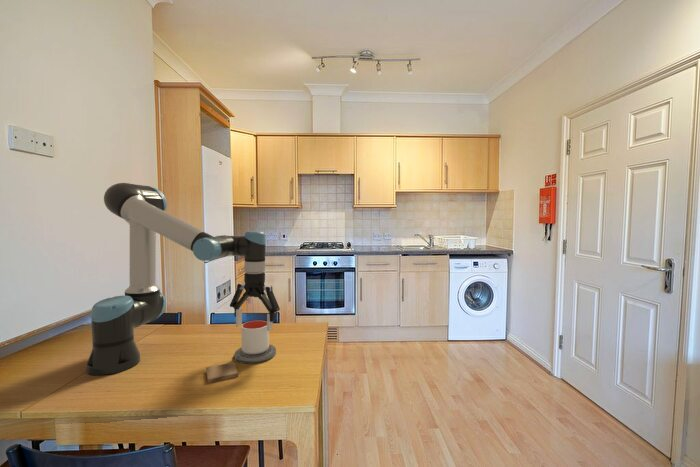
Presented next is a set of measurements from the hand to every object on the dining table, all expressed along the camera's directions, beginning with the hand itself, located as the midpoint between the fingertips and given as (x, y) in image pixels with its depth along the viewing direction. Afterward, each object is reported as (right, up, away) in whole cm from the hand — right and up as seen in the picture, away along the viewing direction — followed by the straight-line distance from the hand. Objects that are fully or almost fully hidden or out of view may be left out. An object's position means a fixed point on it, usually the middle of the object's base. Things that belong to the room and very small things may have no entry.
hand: (254, 327), depth 119 cm
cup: (0, -9, 0) cm, 9 cm away
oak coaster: (-6, -11, -15) cm, 19 cm away
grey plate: (0, -11, 0) cm, 10 cm away
